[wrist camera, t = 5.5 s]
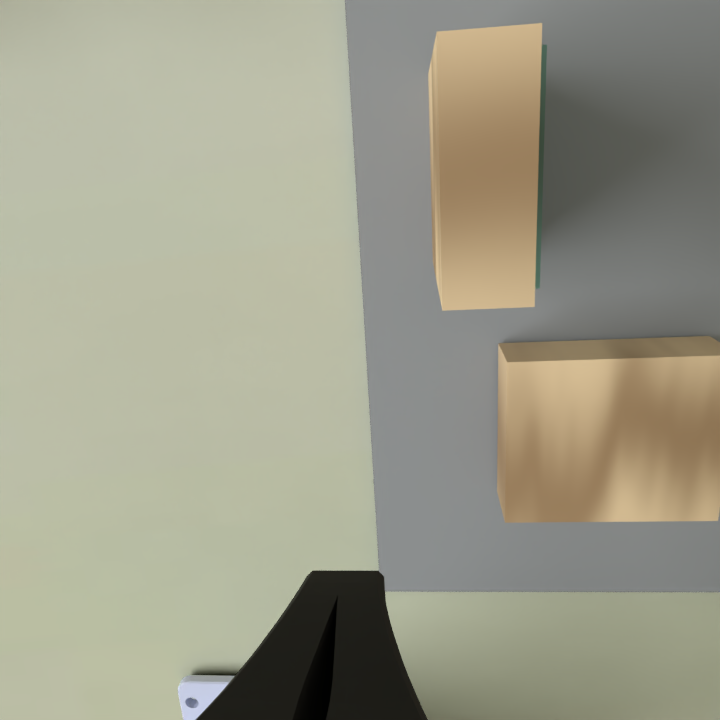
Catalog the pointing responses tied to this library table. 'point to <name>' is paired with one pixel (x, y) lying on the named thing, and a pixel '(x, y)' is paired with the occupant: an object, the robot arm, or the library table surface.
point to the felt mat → (557, 278)
